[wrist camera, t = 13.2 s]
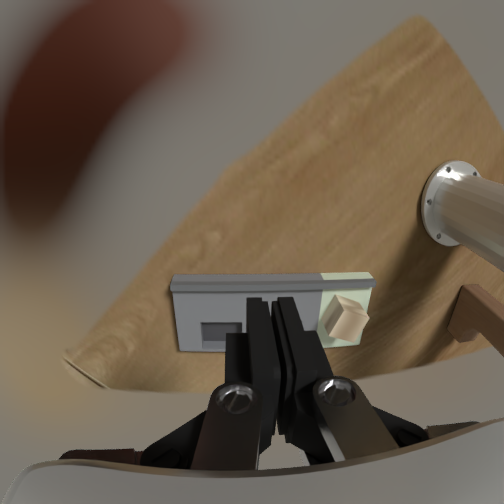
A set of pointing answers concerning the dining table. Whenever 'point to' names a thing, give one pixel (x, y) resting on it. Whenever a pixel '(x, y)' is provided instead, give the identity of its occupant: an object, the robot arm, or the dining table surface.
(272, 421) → the robot arm
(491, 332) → the wooden block
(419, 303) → the dining table surface
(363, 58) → the dining table surface
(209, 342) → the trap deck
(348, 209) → the dining table surface
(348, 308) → the ash cube
